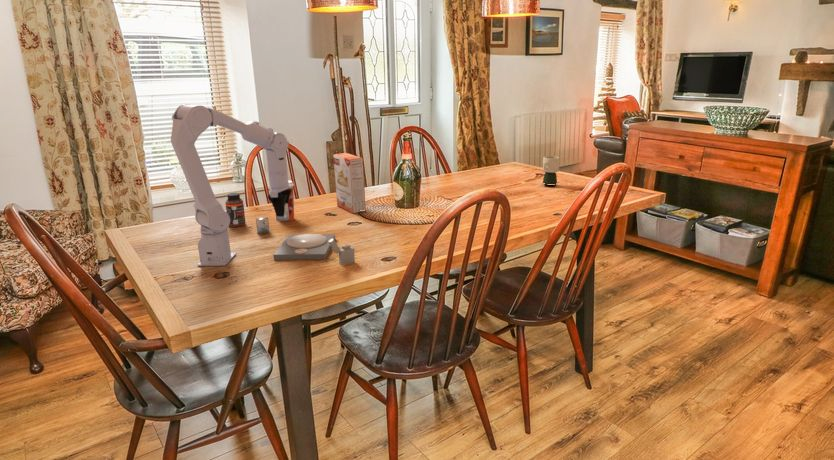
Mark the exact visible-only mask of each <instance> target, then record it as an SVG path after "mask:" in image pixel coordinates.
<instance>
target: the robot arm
mask: <svg viewBox="0 0 834 460" xmlns="http://www.w3.org/2000/svg"><path fill="white" fill-rule="evenodd" d="M171 119H172V127H171V135H170V144H171V146H172V148H173V150H174V153H175V155H176V157H177V160H178V162H179V165H180V167H181V170H182V173H183V175H184V177H185V179H186V183H187V185H188V187H189V189H190V192H191V194H192V196H193V199H194V205H193V207H194V211H195V215H194V216H195V221H196V223H197V224H198V225H199V226H200V234H201V237H200V239H199V240H198V244H197V250H198V255H199V262H198V263H197V266H198V267H210V266H211V267H213V266H215V267H216V266H217V267H218V266H219V267H224V266H226V265H228V263H229V262H230V261H231V260H233V258H234V257H235V256H236V255H237V253H236V252H232V251H231V244H230V238H229V227H230V226H229V224H230V217H229V215H228V213H227V212H226V211H225V210H224V208H223V205H222V204H221V203H220V201H219V200H218V199H217V198H216V196H215V194H214V191H213V188H212V186H211V183H210V181H209V179H208V176H207V174H206V171H205V168H204V166H203V163H202V161H201V159H200V158H201V157H200V155H199V153H198V149H197V148H196V145H195V144H196V142H197V140H198V138H199V137H200V136H201V135H202V134H203V133H204V132H205V131H206V130H208V128H209V127H216V126H218V127H222V128H224V129H227V130H230V131H233V132H236V133H239V134H240V135H241V138H242V139H243V141H246V142H249V143H252V144H254V145H257V146H259V147H261V148H263V149H264V150H265V152H266V153H265V154H266V164H267V172H268V180H269V181H268V182H269V186H268V188H269V194H268V195H267V199H268V200H269V201H270V202H271V204H272V207H273V210H274V213H275V216H276V215H277V217H283V216H284V212H285V203H288V204H289V198H290V194H291V192H292V189H288V188H292V187H293V188H294V186H293V185H289V182H288V180H289V175H288V162H287V150H288V148H289V145H290V141H288V139H287V137H286V136H285V135H284V133H282V132H275V131H274V128H272V127H266V126H263V125H261V124H260V121H256V120H253V121H248V122H243V121H240V120H238V119H236V118H234V117H232V116H230V115H228V114H226V113H224V112H222V111H219V110H217V109H214V108H211V107H210V108H209V107H206V106H204V105H199V104H198V105H193V104H190V103H189V104H188V103H183V104H181V105H179V106H177V108H176V109H175V111H174V112H173V114H172V115H171Z"/></svg>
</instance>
